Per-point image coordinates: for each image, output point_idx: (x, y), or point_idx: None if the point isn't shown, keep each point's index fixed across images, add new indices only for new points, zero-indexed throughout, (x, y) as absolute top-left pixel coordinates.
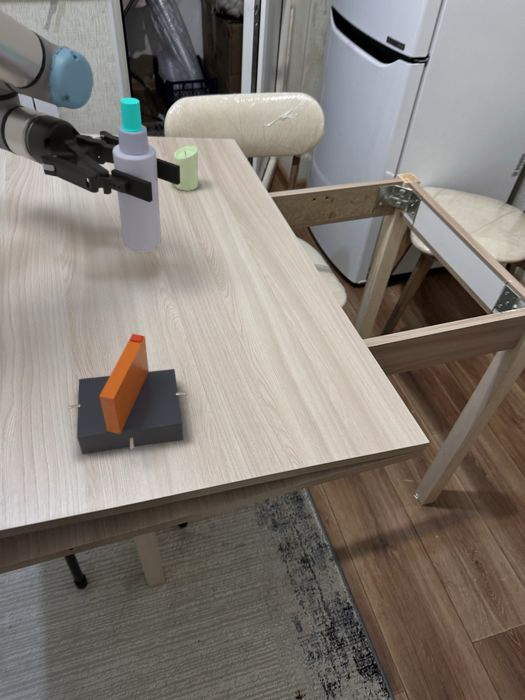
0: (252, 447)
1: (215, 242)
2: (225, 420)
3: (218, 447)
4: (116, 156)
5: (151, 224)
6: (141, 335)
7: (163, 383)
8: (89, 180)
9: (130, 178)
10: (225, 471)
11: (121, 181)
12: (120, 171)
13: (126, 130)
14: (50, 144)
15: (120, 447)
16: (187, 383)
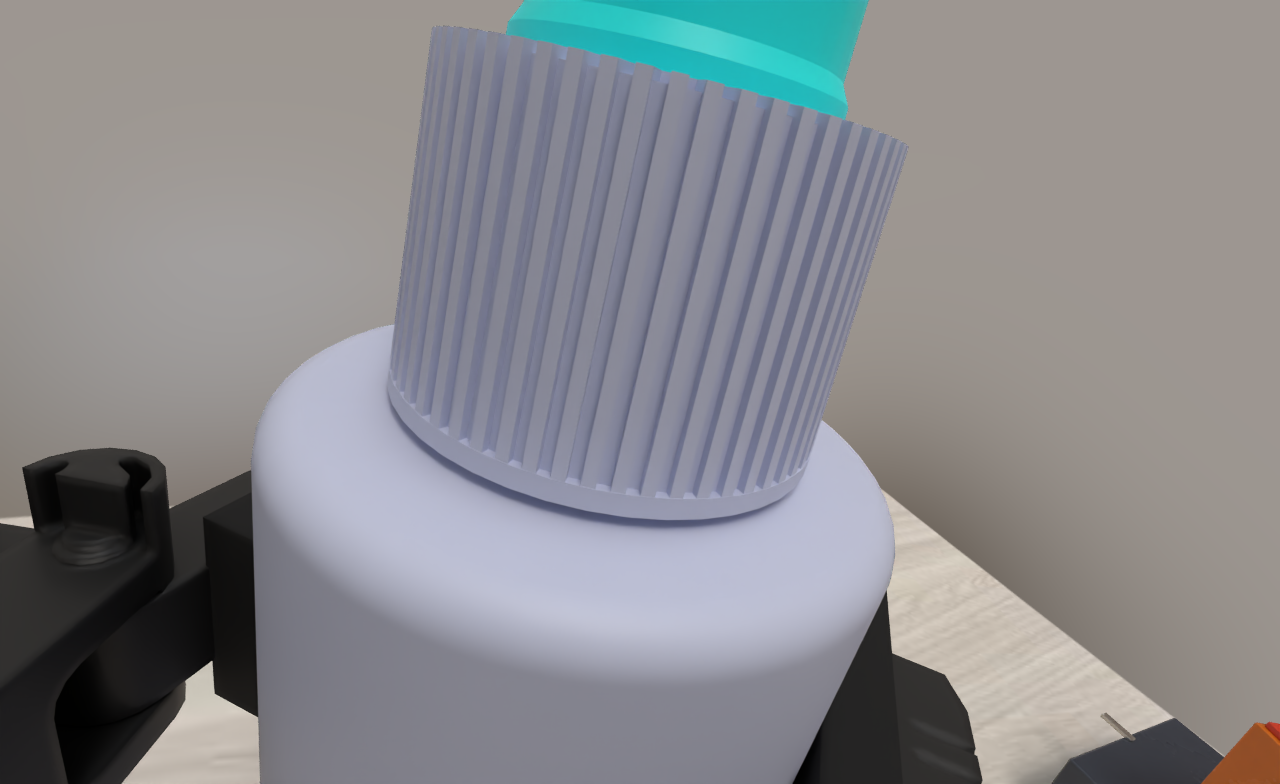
0: (1023, 634)
1: (155, 752)
2: (1014, 679)
3: (1079, 690)
4: (887, 585)
5: None
6: (1274, 727)
7: (1138, 780)
8: None
9: (886, 595)
10: (1107, 676)
11: (927, 710)
12: (837, 700)
13: (844, 113)
14: None
15: None
16: (996, 775)
